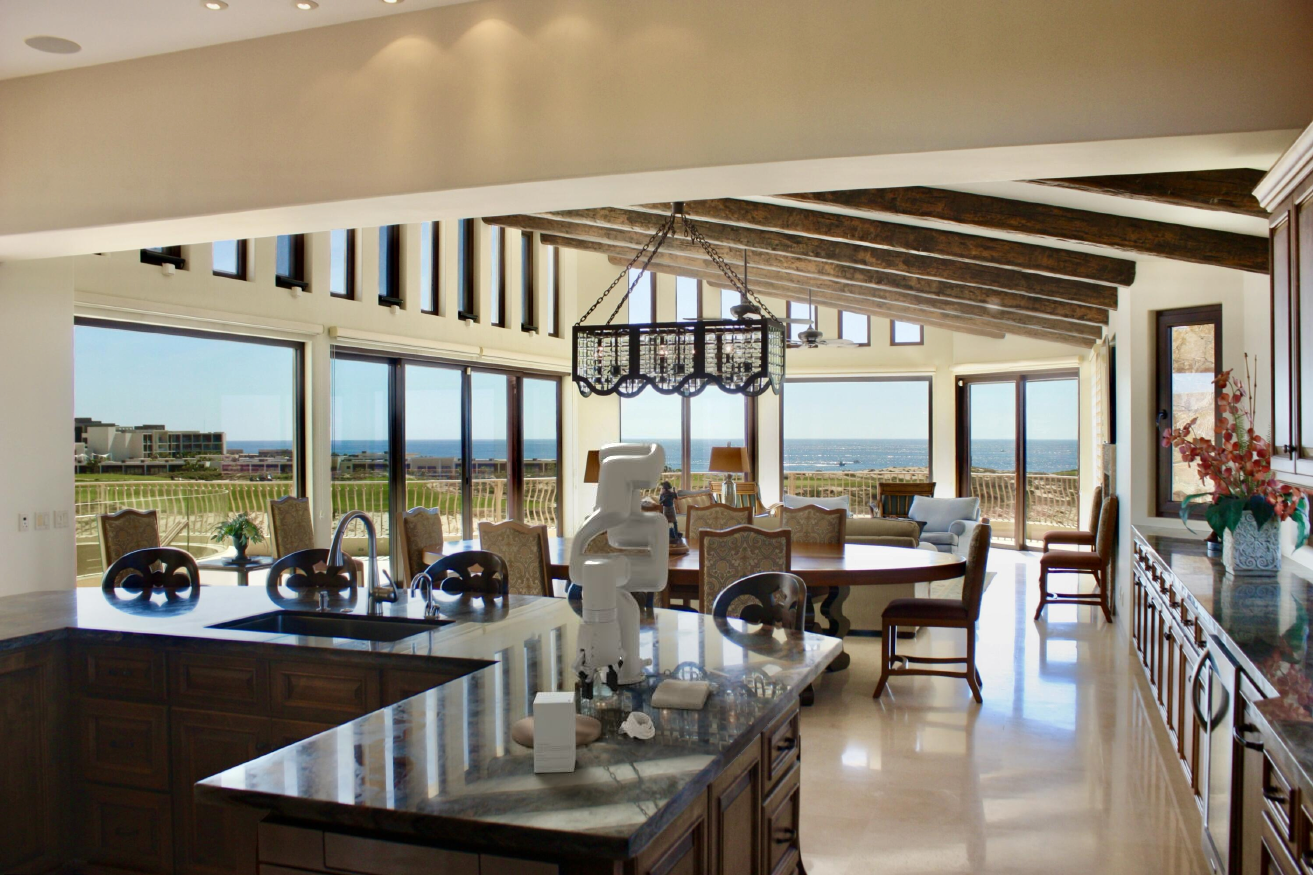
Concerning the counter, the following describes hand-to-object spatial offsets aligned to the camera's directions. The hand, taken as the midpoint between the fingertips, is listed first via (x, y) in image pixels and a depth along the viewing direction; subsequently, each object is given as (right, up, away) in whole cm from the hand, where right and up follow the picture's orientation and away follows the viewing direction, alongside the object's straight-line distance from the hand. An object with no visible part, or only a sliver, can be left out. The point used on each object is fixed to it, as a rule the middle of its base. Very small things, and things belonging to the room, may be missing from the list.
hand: (599, 693), depth 197 cm
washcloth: (+19, -4, +9) cm, 21 cm away
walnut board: (-8, -3, -17) cm, 19 cm away
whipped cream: (+9, -3, -18) cm, 20 cm away
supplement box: (-6, -3, -36) cm, 36 cm away
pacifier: (+1, -2, 0) cm, 2 cm away
